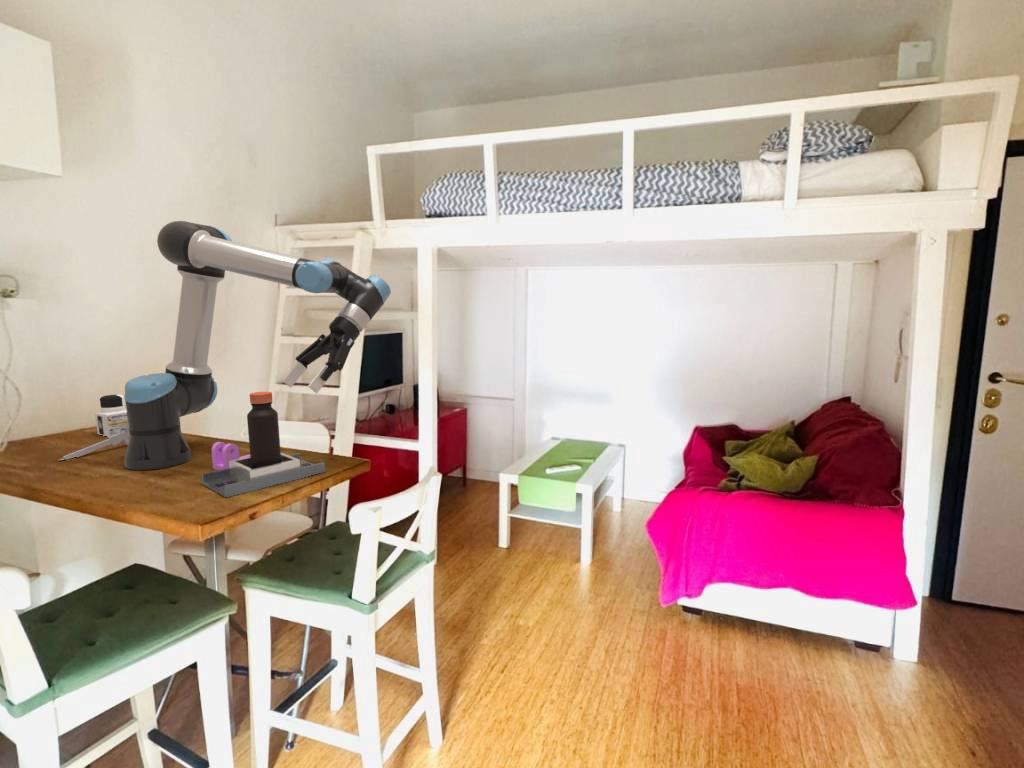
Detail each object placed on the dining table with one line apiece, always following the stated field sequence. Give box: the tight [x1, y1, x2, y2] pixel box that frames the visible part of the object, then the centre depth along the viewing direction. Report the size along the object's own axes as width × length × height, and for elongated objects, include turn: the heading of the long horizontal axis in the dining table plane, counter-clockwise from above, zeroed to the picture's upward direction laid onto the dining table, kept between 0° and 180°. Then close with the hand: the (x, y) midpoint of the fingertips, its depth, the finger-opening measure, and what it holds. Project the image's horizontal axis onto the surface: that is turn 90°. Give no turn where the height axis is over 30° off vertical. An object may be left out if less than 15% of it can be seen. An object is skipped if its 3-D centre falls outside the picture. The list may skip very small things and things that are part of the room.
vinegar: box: [246, 391, 282, 469], centre depth 136 cm, size 7×7×20 cm
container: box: [94, 394, 129, 438], centre depth 184 cm, size 8×8×13 cm
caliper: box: [59, 426, 130, 460], centre depth 162 cm, size 20×1×6 cm, turn 154°
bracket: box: [211, 441, 250, 471], centre depth 149 cm, size 13×6×7 cm, turn 152°
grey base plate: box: [201, 452, 326, 498], centre depth 137 cm, size 14×24×4 cm, turn 137°
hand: (299, 387), depth 141 cm, fingers open, 13 cm apart
